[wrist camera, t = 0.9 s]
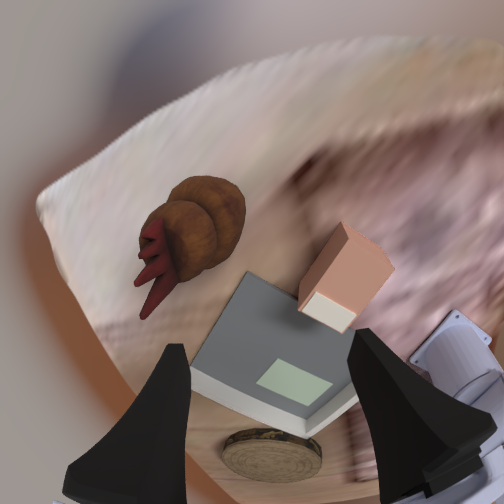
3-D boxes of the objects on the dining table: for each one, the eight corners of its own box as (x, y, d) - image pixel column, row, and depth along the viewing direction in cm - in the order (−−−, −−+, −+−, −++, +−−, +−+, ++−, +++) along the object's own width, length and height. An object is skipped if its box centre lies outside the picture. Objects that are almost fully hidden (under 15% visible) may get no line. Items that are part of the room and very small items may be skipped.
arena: (390, 349, 28) (395, 367, 25) (308, 422, 34) (307, 439, 31) (247, 270, 28) (241, 285, 25) (189, 367, 34) (180, 383, 31)
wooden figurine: (243, 250, 27) (182, 358, 13) (185, 235, 27) (87, 319, 14) (259, 178, 24) (197, 225, 11) (196, 165, 25) (80, 196, 11)
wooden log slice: (308, 419, 34) (307, 436, 32) (330, 464, 39) (330, 478, 36) (209, 429, 39) (203, 443, 36) (248, 471, 43) (245, 483, 41)
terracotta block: (380, 246, 25) (395, 270, 20) (337, 304, 27) (342, 335, 23) (340, 220, 24) (349, 239, 20) (299, 282, 27) (297, 311, 22)
